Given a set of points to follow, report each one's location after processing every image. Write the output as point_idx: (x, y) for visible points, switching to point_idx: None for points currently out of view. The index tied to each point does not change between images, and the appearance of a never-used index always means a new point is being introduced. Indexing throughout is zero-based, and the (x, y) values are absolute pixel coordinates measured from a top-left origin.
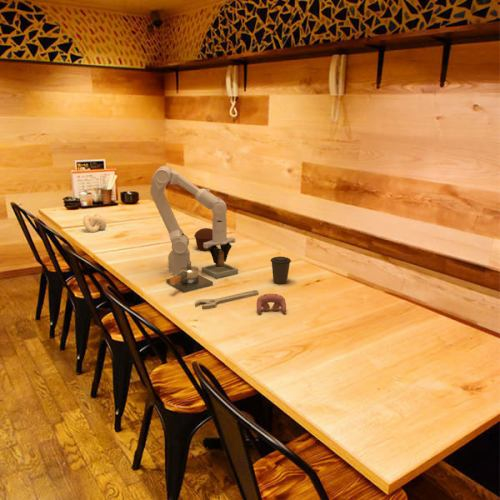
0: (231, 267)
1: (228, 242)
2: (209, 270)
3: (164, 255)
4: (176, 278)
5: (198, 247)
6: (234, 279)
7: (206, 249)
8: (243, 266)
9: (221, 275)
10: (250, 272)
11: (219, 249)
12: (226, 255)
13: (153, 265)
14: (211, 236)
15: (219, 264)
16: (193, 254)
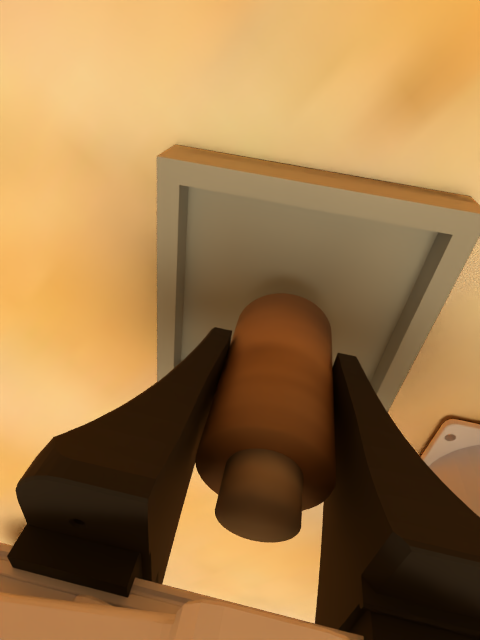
0: (177, 254)
1: (22, 577)
2: (409, 348)
3: (285, 615)
4: None
5: None
6: (349, 8)
7: None
8: (18, 257)
9: (403, 192)
10: (35, 69)
11: (271, 517)
12: (196, 370)
13: None
14: None
15: (322, 330)
16: (170, 555)
